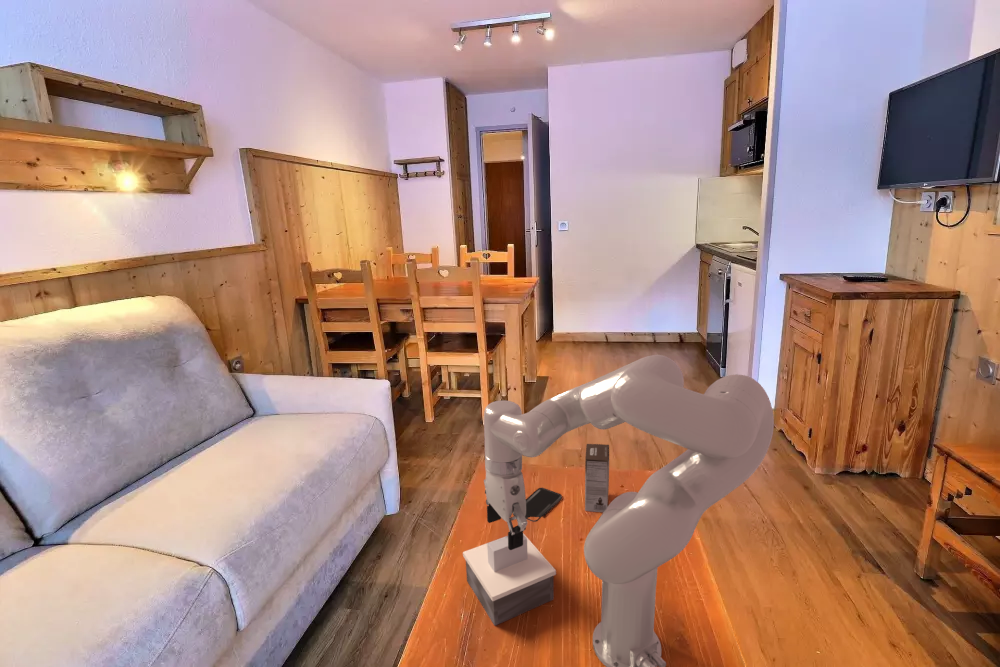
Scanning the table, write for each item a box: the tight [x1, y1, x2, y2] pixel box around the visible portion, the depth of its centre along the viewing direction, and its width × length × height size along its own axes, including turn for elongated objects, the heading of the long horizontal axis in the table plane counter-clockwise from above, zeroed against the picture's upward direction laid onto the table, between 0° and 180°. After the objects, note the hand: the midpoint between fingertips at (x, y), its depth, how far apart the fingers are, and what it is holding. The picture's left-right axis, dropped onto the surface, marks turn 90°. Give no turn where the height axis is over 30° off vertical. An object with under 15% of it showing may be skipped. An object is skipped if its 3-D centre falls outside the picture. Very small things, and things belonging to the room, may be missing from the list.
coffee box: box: [584, 443, 610, 513], centre depth 136 cm, size 9×6×16 cm
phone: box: [512, 487, 563, 523], centre depth 138 cm, size 8×1×15 cm
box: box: [465, 560, 555, 626], centre depth 107 cm, size 14×14×7 cm
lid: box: [462, 533, 557, 601], centre depth 105 cm, size 15×15×6 cm
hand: (504, 533), depth 104 cm, fingers open, 9 cm apart
